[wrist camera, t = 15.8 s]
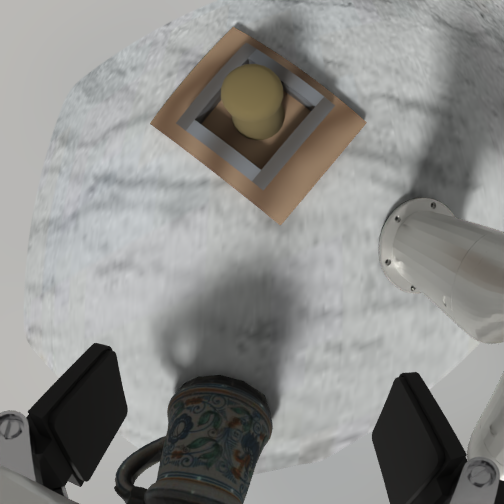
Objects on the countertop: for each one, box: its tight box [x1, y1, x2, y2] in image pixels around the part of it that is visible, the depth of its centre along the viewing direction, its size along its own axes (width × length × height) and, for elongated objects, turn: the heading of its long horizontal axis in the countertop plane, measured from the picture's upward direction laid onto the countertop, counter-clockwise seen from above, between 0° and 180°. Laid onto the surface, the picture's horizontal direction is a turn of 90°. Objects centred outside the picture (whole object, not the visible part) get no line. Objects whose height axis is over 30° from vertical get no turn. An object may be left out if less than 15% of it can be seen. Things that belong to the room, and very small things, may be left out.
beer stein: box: [114, 375, 273, 504], centre depth 32 cm, size 16×19×25 cm
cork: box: [221, 64, 285, 140], centre depth 26 cm, size 6×6×11 cm
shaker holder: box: [150, 27, 367, 225], centre depth 31 cm, size 20×16×4 cm
